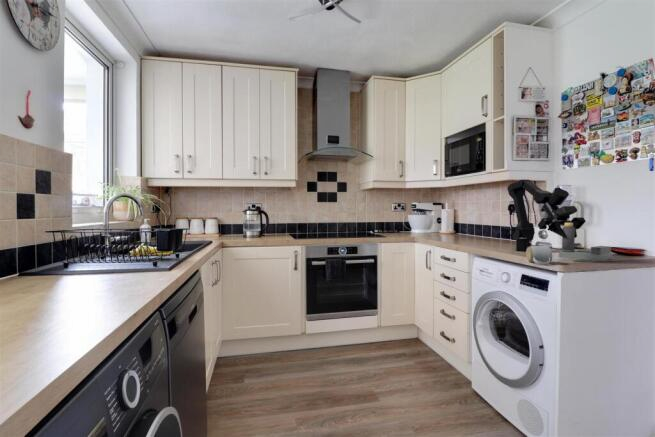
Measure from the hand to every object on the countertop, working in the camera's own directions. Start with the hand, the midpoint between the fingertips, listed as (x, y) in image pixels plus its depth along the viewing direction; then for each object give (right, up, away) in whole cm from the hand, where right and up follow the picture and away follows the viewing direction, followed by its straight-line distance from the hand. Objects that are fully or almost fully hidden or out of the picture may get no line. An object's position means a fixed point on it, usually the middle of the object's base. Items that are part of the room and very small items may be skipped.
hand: (570, 237), depth 139 cm
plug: (0, -7, +2) cm, 7 cm away
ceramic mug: (-16, -11, -4) cm, 20 cm away
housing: (+15, -11, +10) cm, 21 cm away
